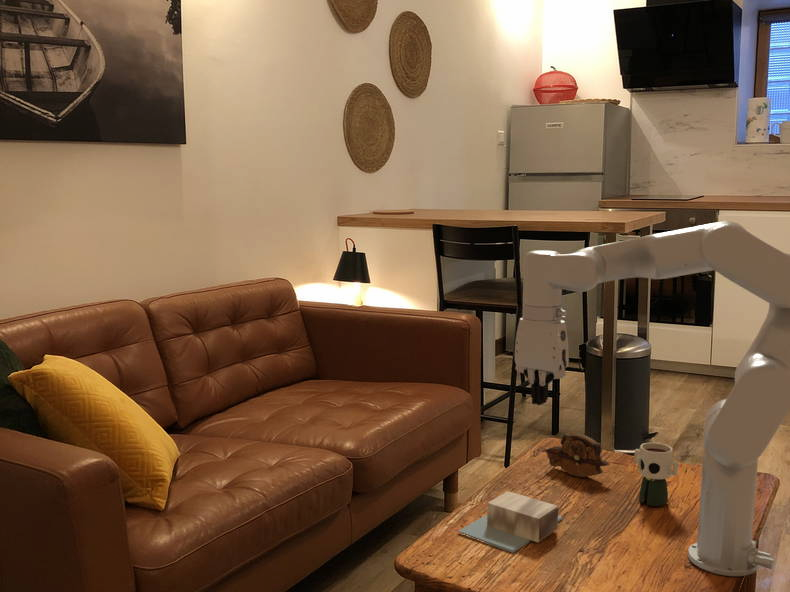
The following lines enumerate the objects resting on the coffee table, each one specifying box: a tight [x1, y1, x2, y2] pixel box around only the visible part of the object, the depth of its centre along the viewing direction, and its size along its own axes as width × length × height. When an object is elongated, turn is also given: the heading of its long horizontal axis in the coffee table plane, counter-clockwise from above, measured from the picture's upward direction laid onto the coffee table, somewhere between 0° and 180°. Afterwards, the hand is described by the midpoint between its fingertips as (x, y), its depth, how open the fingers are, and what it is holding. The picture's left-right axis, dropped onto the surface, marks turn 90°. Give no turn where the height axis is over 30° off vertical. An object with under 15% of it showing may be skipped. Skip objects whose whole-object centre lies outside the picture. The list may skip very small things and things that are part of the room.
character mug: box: [633, 442, 679, 507], centre depth 182 cm, size 11×7×13 cm, turn 38°
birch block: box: [486, 490, 559, 543], centre depth 169 cm, size 5×8×12 cm
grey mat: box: [457, 514, 563, 554], centre depth 171 cm, size 13×20×1 cm, turn 141°
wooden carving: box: [545, 433, 611, 478], centre depth 199 cm, size 16×5×10 cm, turn 53°
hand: (539, 402), depth 164 cm, fingers closed
